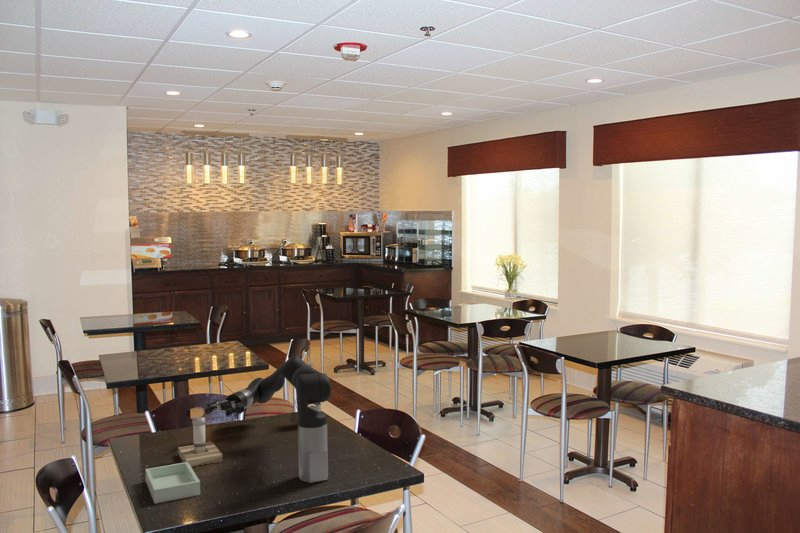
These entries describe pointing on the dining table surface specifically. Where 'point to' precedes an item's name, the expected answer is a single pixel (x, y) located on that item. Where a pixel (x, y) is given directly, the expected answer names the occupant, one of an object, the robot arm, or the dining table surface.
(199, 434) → the fuse
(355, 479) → the dining table surface
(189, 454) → the fuse holder
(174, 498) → the parts tray
